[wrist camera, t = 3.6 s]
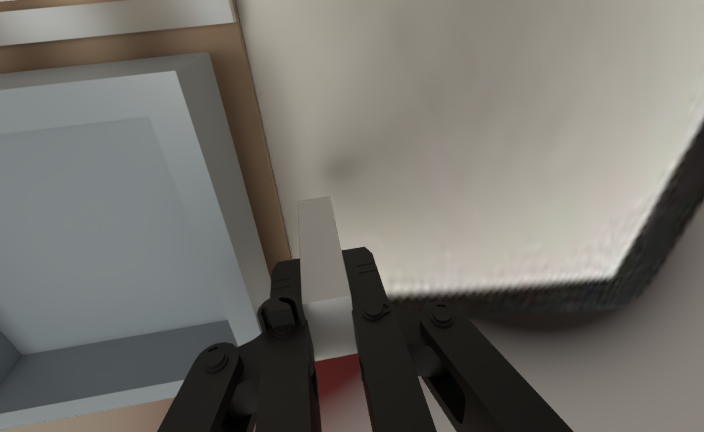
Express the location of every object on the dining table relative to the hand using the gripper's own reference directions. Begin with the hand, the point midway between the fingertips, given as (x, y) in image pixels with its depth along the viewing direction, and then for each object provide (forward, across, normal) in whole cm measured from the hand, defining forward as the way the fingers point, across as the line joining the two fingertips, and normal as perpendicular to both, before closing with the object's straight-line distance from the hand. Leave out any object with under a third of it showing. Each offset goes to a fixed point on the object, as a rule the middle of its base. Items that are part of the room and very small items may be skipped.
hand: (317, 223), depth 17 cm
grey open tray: (+5, -11, 0) cm, 12 cm away
